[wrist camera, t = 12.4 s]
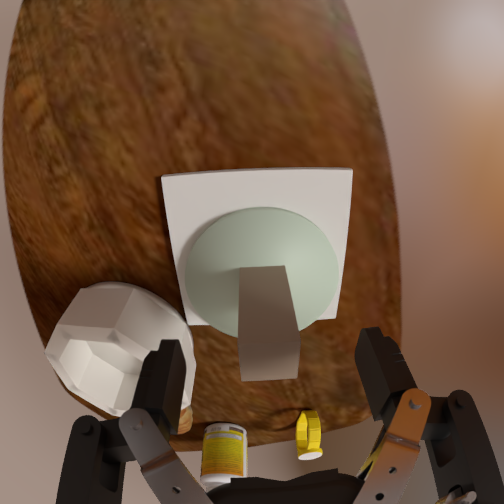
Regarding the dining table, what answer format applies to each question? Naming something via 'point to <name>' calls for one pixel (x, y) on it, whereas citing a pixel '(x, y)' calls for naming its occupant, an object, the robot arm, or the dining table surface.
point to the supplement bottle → (223, 454)
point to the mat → (255, 195)
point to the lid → (262, 285)
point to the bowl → (115, 343)
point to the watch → (314, 435)
